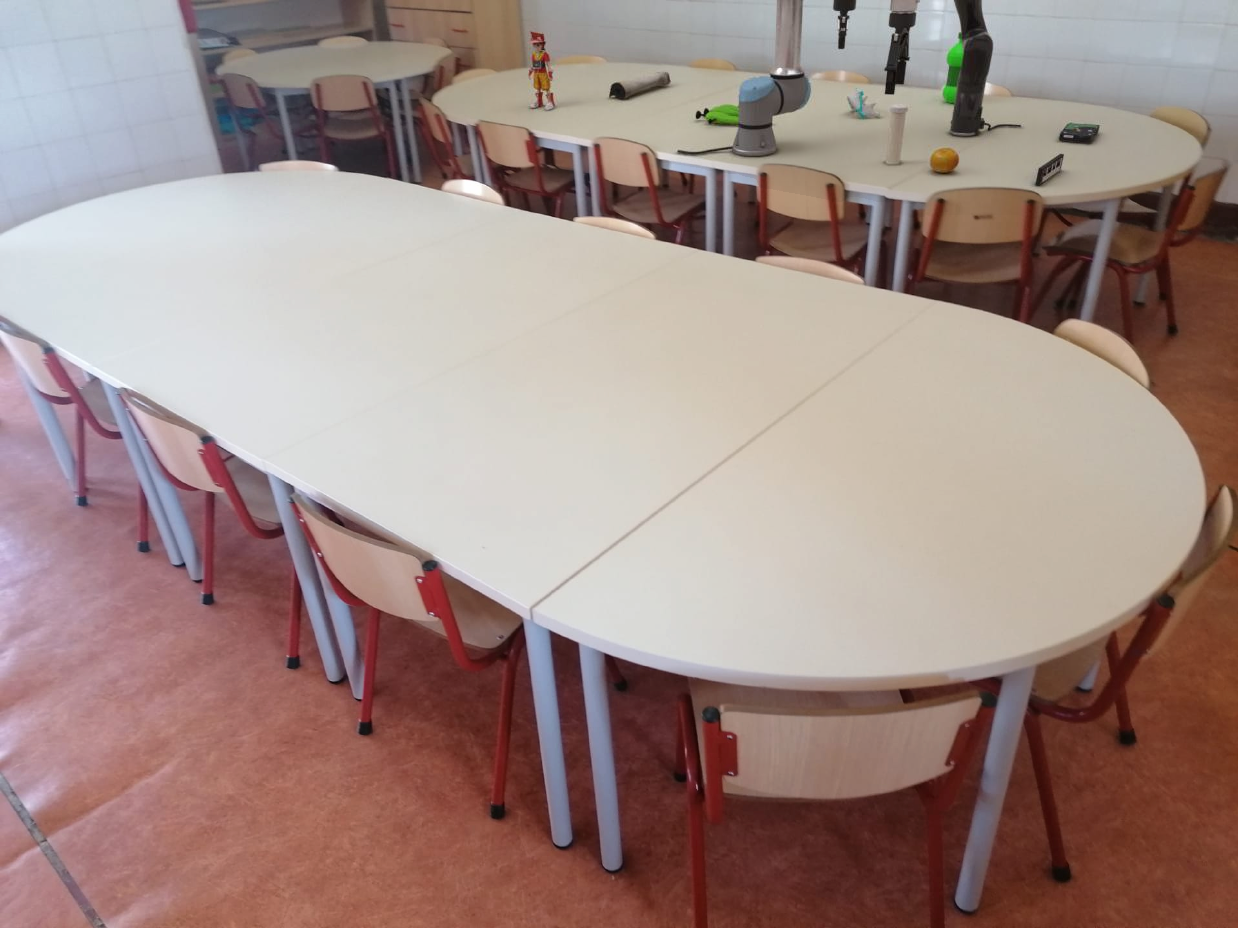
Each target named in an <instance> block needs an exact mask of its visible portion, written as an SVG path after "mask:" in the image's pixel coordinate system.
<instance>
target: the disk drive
mask: <svg viewBox="0 0 1238 928" xmlns="http://www.w3.org/2000/svg"><path fill="white" fill-rule="evenodd" d="M1100 127H1101V126H1100V124H1091V123H1075V122H1069V123H1067V124H1066V125H1065V126H1064V127H1063V129H1062V130H1061V131H1060V133H1059V136H1058V141H1062V142H1072V143H1083V144H1091V143H1093V141H1094V139H1095V137H1096V136H1097V135H1098V133H1099V132H1100Z"/></svg>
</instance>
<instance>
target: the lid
mask: <svg viewBox="0 0 1238 928" xmlns="http://www.w3.org/2000/svg"><path fill="white" fill-rule="evenodd" d="M889 109H890V110H889V111H890V113H891V112H893V113H905V112H906V113H907V112H908V109H909V105H908V104H904V103H895V104H891V105H890V108H889Z"/></svg>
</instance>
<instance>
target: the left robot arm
mask: <svg viewBox="0 0 1238 928" xmlns="http://www.w3.org/2000/svg"><path fill="white" fill-rule="evenodd" d="M918 3H921V0H890V5H889V10H890V13H889V16H888V27H890V28H892V29H893V28H894V29H895V30H894V33H891V37H890V38H891V39H890V45H889V51H888V55H887V60H886V66H885V67H884V72H886V78H885V86H884V95H891V96H894V95H895V93H896V85H904V84H905V78H906V69H907V62H909V61H911V60H910V59H911V58H910V31H911V28H914V27H915V25H916V20H917V12H916V11H917V10H918ZM803 9H804V0H776V15H775V16H776V19H775V21H776V22H775V53H774V55H775V56H774V67H773V68H772V70H770V73H769V76H767V75H765V76H764V75H762V76H761V75H760V76H755V77H750V78H748V79H746V80H744V81H743V82H741V84H740V86H739V89H738V90H739V91H738V105H739V119H738V124H737V126H738V127H737V131H736V134H735V137H734V140H733V143H732V145H731V146H723V147H717V148H711V149H706V150H700V151H687V150H681V149H677V150H676V151H677V153H679V154H683V155H684V154H685V155H694V156H695V155H703V154H708V153H709V154H710V153H714V152H715V153H716V152H721V151H727V150H732V153H733V154H736V155H737V156H742V157H764V156H769V155H773V154H775V152H777V145H778V144H777V141H776V137H775V133H774V129H773V117H775V116H779V115H780V116H781V115H784V114H788V113H795V112H796V111H800V110H802V109H803V108H805V106H806V105H807V104H808V102H809V100H810V97H811V94H812V86H811V82H810V79H809V78H808V76H807V75H806V74H805V72H806V71H805V69H804V68H803V67H802V66H801V61H802V60H801V59H802V57H801V56H802V36H803V35H802V34H803V16H804V15H803V13H804V12H803V11H804V10H803Z"/></svg>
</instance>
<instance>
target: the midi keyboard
mask: <svg viewBox="0 0 1238 928" xmlns="http://www.w3.org/2000/svg"><path fill="white" fill-rule="evenodd" d="M1064 157H1065V153H1059V154H1058V155H1056V156H1055V157H1052V159H1051V160H1049V161H1047V162H1045V164H1042V165H1041V166H1039V167H1038V169H1037V175H1036V179H1035V186H1040V185H1042V183H1044V182H1045V181H1047V180H1048V179H1049V178H1051V177H1052V176H1054V175H1055V174H1056V173H1058V172H1060V171H1061V170H1062V165H1063V161H1064Z"/></svg>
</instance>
